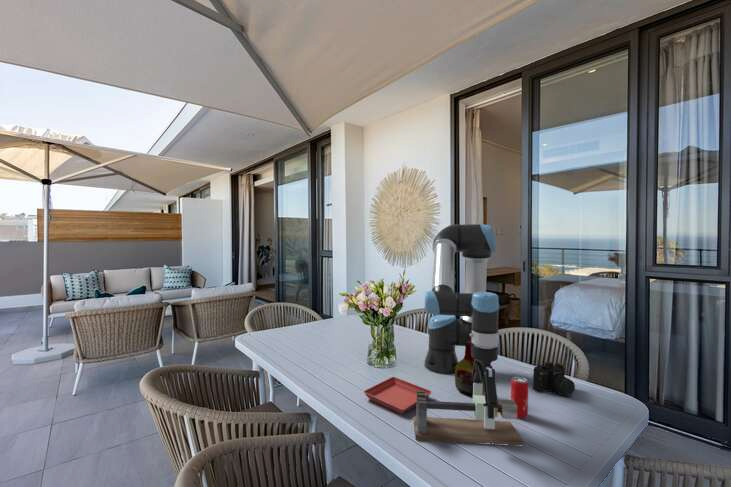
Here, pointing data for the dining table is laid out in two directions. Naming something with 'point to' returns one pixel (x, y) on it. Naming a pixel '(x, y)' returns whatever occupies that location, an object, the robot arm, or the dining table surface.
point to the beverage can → (520, 395)
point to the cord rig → (464, 423)
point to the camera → (552, 379)
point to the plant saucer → (395, 394)
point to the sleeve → (479, 406)
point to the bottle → (465, 372)
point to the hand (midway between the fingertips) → (483, 415)
